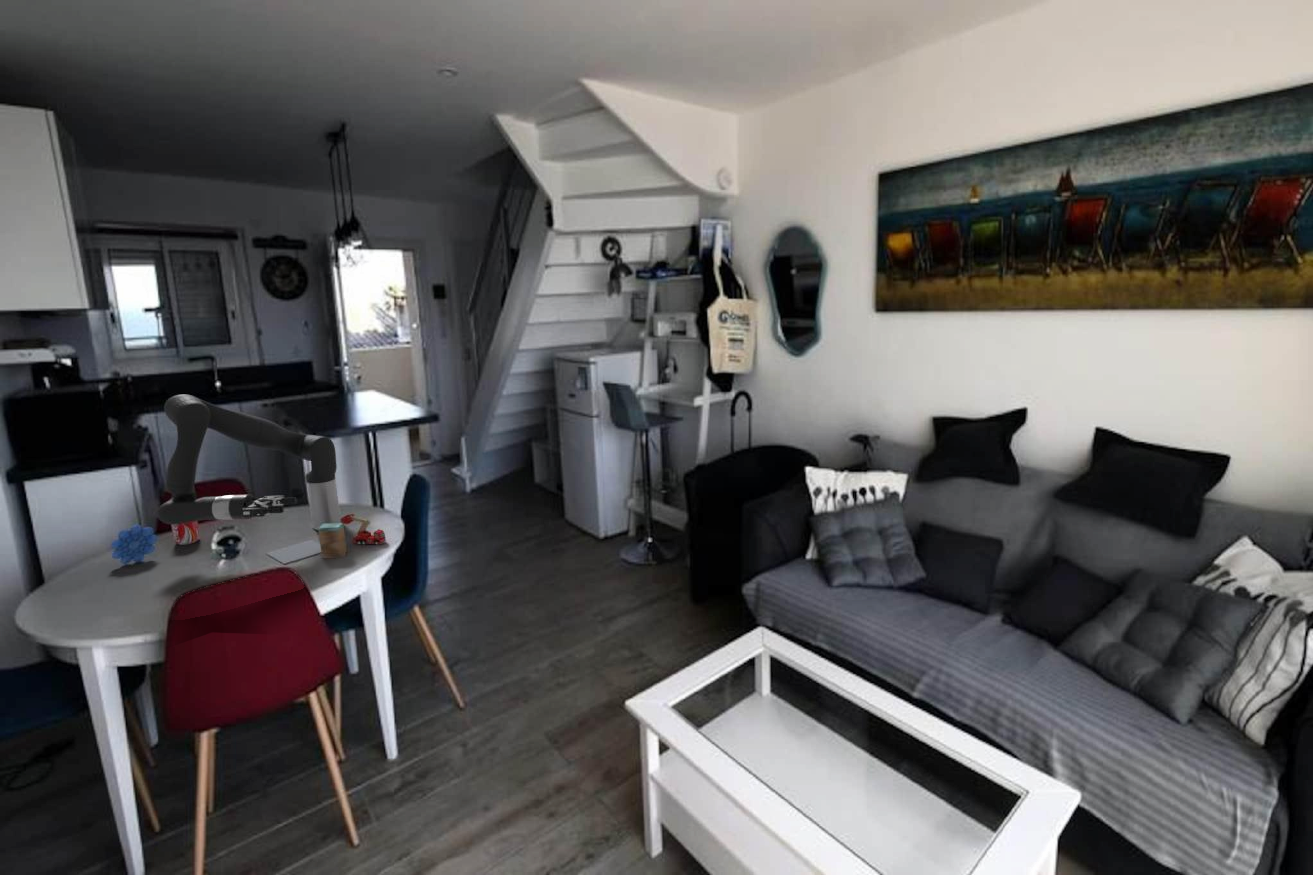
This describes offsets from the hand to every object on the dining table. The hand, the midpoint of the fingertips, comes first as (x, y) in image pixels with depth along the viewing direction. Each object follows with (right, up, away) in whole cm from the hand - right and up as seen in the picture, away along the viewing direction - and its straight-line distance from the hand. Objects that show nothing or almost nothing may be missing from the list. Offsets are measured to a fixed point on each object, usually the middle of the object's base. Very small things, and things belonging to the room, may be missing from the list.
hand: (289, 504), depth 194 cm
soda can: (-46, -15, +19) cm, 51 cm away
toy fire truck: (+17, -15, +15) cm, 27 cm away
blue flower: (-49, -18, +3) cm, 53 cm away
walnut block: (+11, -17, +5) cm, 21 cm away
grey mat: (-2, -16, +8) cm, 18 cm away
